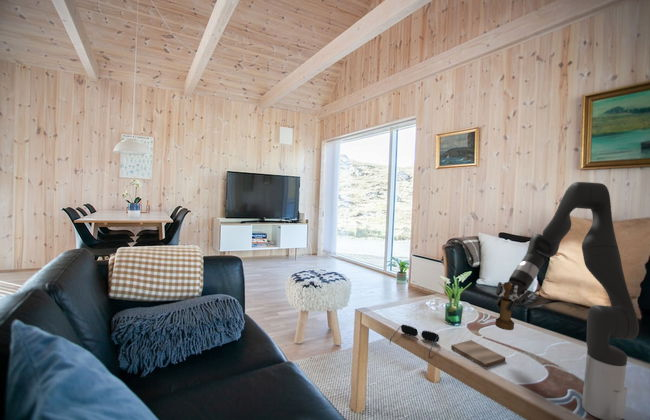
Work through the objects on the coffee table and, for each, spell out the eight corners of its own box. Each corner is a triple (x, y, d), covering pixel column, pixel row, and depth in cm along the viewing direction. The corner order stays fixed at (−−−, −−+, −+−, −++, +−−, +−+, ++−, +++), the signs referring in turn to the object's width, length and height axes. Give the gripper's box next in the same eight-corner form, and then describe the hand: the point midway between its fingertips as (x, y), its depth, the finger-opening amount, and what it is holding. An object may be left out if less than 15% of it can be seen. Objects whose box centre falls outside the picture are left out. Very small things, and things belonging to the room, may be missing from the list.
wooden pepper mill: (516, 331, 129) (519, 285, 127) (498, 329, 130) (501, 284, 129) (510, 324, 135) (513, 281, 134) (493, 322, 137) (496, 279, 135)
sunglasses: (439, 344, 144) (439, 333, 144) (429, 362, 132) (429, 351, 132) (401, 333, 154) (401, 323, 153) (388, 349, 142) (388, 338, 141)
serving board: (505, 361, 131) (505, 357, 131) (485, 367, 126) (485, 363, 125) (470, 343, 145) (470, 340, 145) (451, 348, 140) (451, 345, 140)
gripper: (504, 265, 141) (482, 296, 136) (538, 273, 128) (516, 308, 123) (511, 276, 143) (490, 307, 139) (545, 285, 131) (523, 320, 126)
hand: (502, 307), depth 131 cm, fingers closed on wooden pepper mill, 4 cm apart
